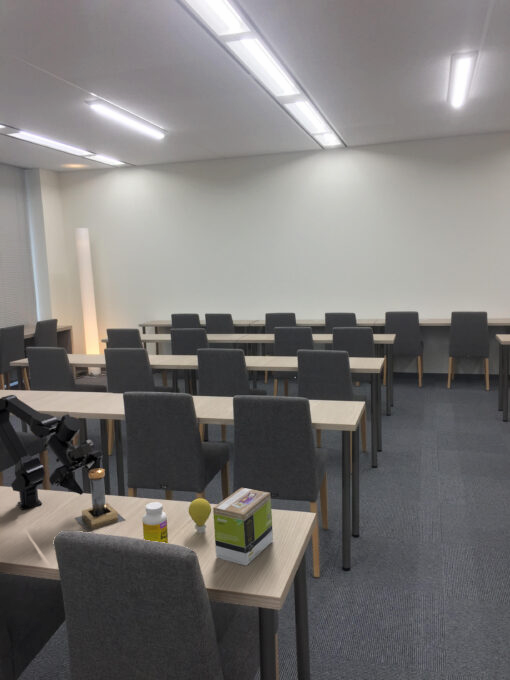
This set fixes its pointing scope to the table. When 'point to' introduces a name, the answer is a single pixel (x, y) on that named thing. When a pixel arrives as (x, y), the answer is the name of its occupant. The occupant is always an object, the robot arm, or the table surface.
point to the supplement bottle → (155, 523)
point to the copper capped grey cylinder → (97, 491)
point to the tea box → (243, 525)
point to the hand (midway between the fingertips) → (93, 488)
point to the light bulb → (200, 513)
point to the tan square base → (99, 519)
